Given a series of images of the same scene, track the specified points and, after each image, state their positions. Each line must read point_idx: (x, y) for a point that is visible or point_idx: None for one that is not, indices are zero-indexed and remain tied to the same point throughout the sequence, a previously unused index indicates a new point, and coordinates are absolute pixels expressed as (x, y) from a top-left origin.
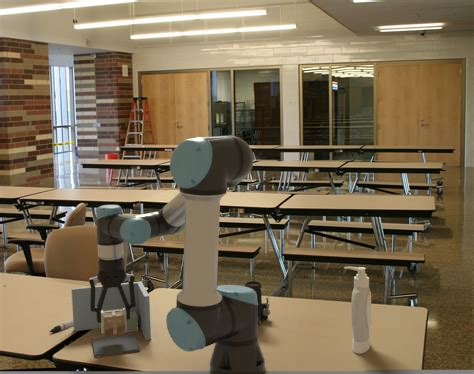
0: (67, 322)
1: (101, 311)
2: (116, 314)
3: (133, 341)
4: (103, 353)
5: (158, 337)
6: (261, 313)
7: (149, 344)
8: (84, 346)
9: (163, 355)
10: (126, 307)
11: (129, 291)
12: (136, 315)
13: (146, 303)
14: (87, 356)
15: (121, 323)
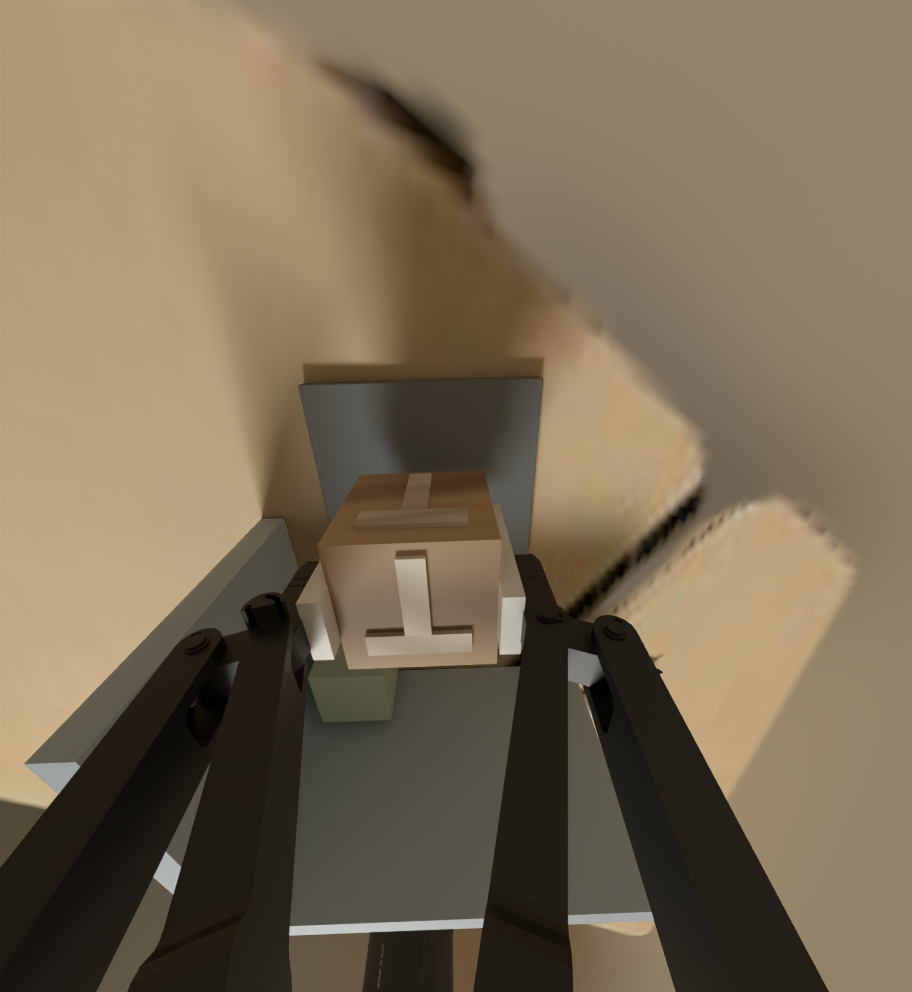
0: (590, 713)
1: (514, 632)
2: (390, 579)
3: (337, 494)
4: (496, 379)
5: (228, 531)
6: None
7: (261, 462)
8: (562, 523)
9: (148, 271)
10: (280, 629)
11: (316, 853)
12: (312, 681)
13: (123, 688)
14: (572, 401)
15: (364, 508)
